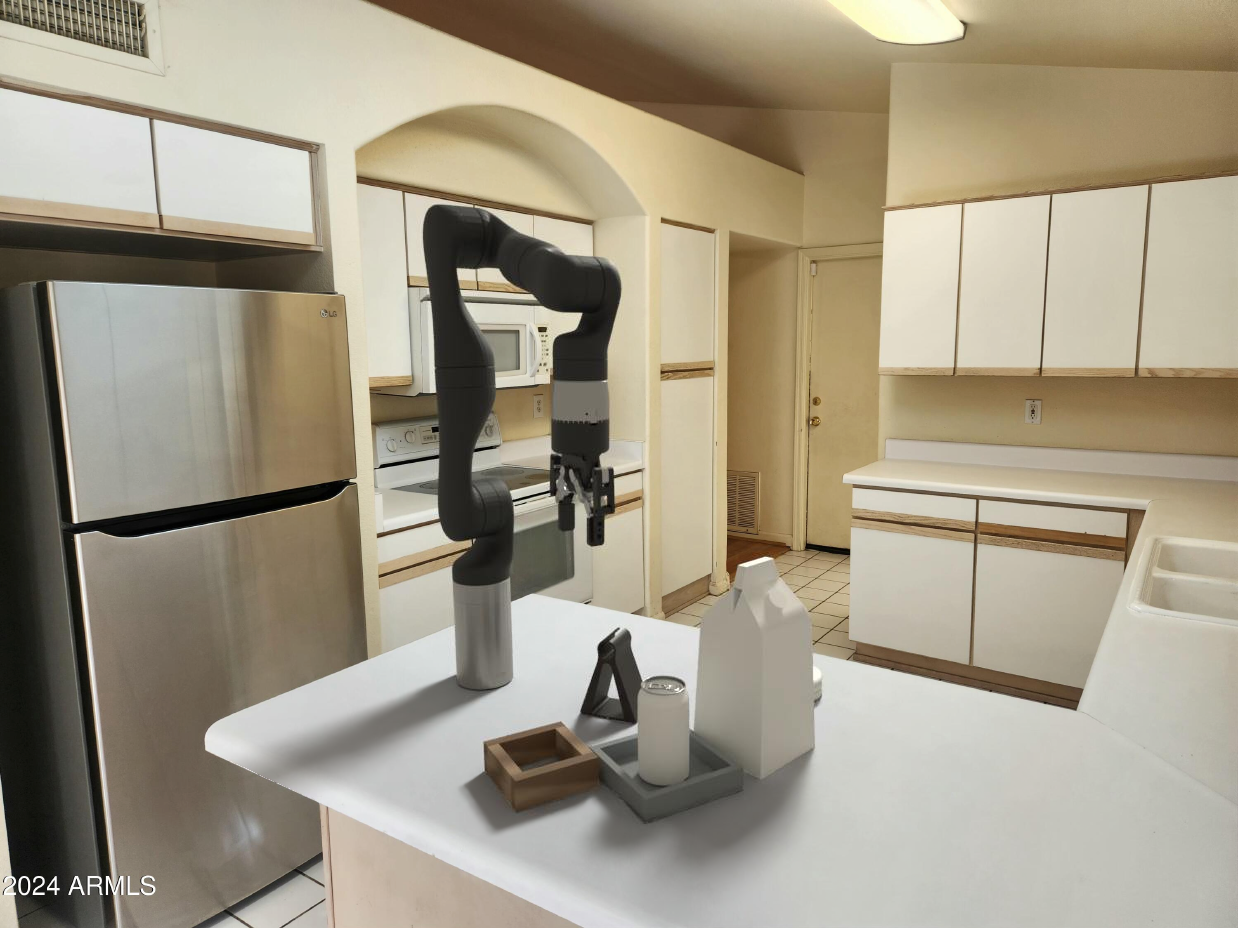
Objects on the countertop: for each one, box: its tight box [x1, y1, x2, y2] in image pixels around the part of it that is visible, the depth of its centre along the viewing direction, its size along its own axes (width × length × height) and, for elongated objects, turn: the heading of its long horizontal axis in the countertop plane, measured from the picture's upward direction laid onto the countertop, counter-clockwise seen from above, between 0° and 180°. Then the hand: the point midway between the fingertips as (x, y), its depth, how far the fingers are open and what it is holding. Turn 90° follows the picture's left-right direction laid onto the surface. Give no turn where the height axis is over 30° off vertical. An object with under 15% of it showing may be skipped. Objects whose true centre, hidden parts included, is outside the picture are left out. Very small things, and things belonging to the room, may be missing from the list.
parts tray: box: [588, 727, 744, 824], centre depth 102 cm, size 14×14×3 cm
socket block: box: [482, 720, 600, 814], centre depth 102 cm, size 11×11×4 cm
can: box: [637, 674, 690, 787], centre depth 101 cm, size 6×6×12 cm
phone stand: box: [579, 627, 643, 725], centre depth 120 cm, size 9×6×12 cm, turn 67°
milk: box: [693, 556, 816, 780], centre depth 108 cm, size 12×12×26 cm
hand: (580, 537), depth 106 cm, fingers open, 8 cm apart
